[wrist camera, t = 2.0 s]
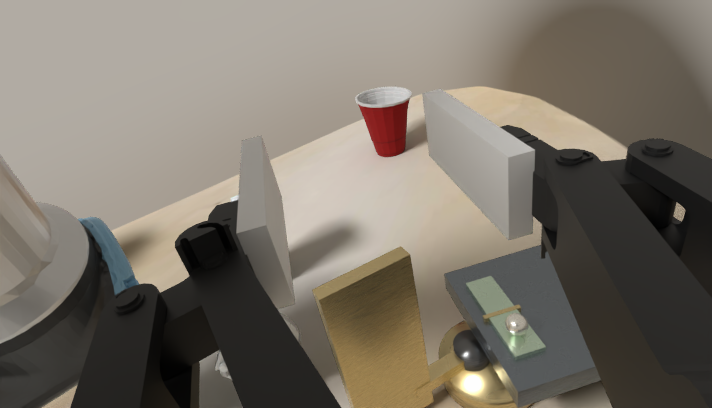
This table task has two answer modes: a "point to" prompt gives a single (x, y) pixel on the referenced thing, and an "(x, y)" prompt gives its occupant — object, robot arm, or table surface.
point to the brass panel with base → (399, 343)
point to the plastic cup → (386, 117)
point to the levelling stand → (524, 325)
